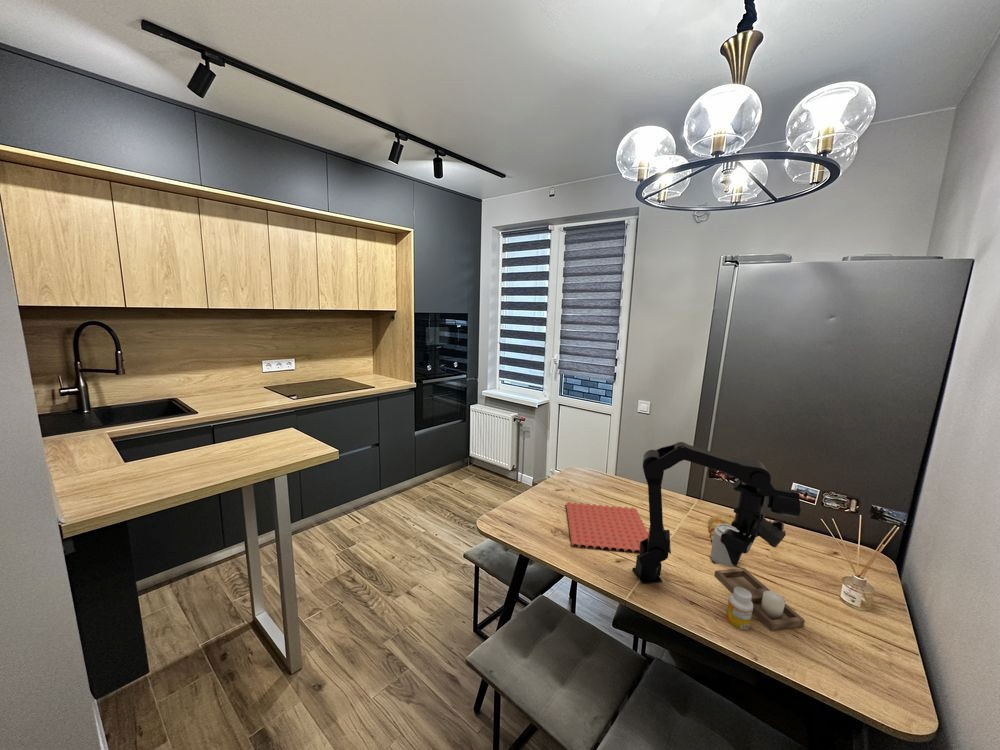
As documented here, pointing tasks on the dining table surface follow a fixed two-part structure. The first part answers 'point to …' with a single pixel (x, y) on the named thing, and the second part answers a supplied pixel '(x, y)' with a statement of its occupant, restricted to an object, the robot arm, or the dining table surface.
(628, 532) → the red studded mat
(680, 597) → the dining table surface
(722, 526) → the can
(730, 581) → the caddy
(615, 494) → the dining table surface
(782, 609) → the white rounded cylinder
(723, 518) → the croissant
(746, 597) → the supplement bottle
